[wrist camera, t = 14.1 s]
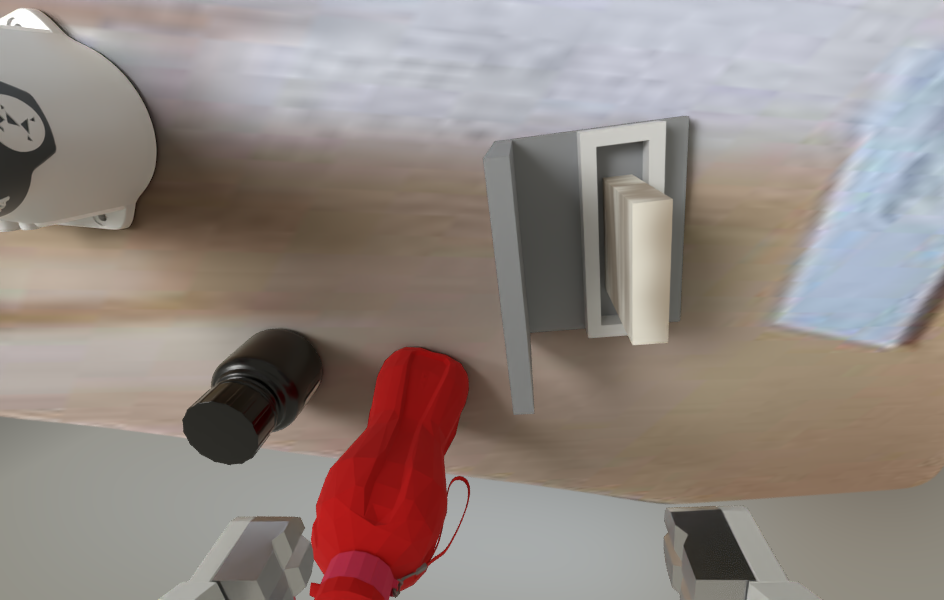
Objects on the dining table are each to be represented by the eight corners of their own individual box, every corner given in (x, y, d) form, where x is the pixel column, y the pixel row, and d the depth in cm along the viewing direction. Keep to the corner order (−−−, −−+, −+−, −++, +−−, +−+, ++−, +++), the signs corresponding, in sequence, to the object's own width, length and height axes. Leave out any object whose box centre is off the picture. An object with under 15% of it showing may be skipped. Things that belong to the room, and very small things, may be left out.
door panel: (605, 287, 42) (632, 345, 32) (602, 177, 38) (632, 203, 28) (635, 285, 42) (672, 342, 32) (635, 173, 38) (678, 198, 28)
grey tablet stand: (515, 328, 46) (513, 414, 33) (494, 141, 39) (483, 159, 26) (676, 315, 44) (741, 402, 31) (684, 115, 37) (771, 121, 24)
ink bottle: (255, 397, 53) (186, 474, 42) (232, 329, 49) (150, 393, 38) (336, 394, 51) (286, 473, 40) (317, 324, 48) (258, 389, 37)
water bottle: (470, 430, 52) (432, 690, 29) (376, 404, 51) (263, 645, 28) (493, 363, 48) (470, 599, 25) (392, 334, 48) (275, 547, 25)
